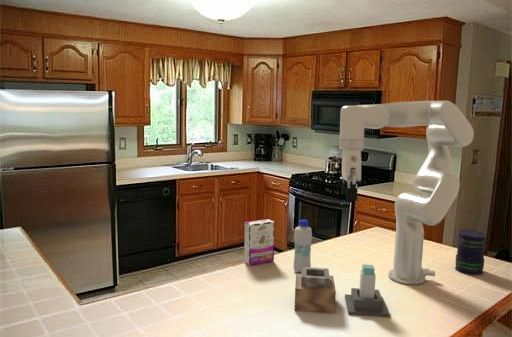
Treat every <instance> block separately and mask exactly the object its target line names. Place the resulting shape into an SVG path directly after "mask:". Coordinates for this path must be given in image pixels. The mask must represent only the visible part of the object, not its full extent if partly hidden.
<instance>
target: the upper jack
mask: <svg viewBox="0 0 512 337" xmlns="http://www.w3.org/2000/svg"><path fill="white" fill-rule="evenodd" d="M329 270H330V269H329V268H327V267H326V268H325V267H302V272H300V273H295V284H294V285H295V288H294V309H293V310H294V311H295V312H308V313H309V312H311V313H320V314H321V313H324V314H325V313H326V314H335V313H336V299H337V298H336V297H337V296H336V295H337V294H336V293H337V289H336V284H335V279H334V275H330V271H329Z"/></svg>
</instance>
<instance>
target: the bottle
mask: <svg viewBox="0 0 512 337" xmlns="http://www.w3.org/2000/svg"><path fill="white" fill-rule="evenodd" d="M298 224H299V225H298V226H297V227H295V229H294V234H293V238H294V239H293V241H294V257H293V259H294V260H293V271H294V272H295V274H300V273H301V272H302V267H310V268H312V267H311V265H312V264H311V262H312V261H311V253H312V252H311V250H312V242H313V240H312V239H313V233H312V232H313V231H312V228H311V227H309V221H308V220H307V219H300V220H299V222H298Z"/></svg>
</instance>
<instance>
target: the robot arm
mask: <svg viewBox="0 0 512 337" xmlns="http://www.w3.org/2000/svg"><path fill="white" fill-rule="evenodd" d="M339 118H340V120H339V143H338V144H339V146H338V148H339V150H341V151H342V155H341V177H342V183H341V184H342V185H341V186H342V187H341V194H342V195H346V197H345V198H346V201H347V202H348V201H349V202H357V201H358V182H361V181H362V151H364V142H365V141H364V140H365V129H372V130H373V129H374V130H379V129H382V128H384V127H389V128H411V127H421V126H427V128H426V131H425V132H426V133H425V135H426V136H425V137H426V140H427V141H426V142H427V145H428V147H427V148H428V152H427V155H426V158H425V160H424V161H423V163H422V165H421V167H420V168H419V169H418V171H417V173H416V174H415V176H414V179H412V180H413V181H412V187H413V189H414V190H415V191H416V192H418V193H416V192H410V191H405V192H402V193H400V194H399V195H398V196H397V197H396V199H395V201H394V212H395V213H394V214H395V219H396V220H395V221H396V222H395V223H396V224H395V226H396V227H395V228H396V229H395V237H394V238H395V242H394V256H393V269H392V270H390V271H389V272H388V277H389V279H391V280H392V281H394V282H397V283H399V284H404V285H421V284H423V283H425V282H426V276H429V277H436V271H435V270H430V268H423V267H422V265H423V264H422V262H423V253H424V252H423V251H424V250H423V249H424V238H425V231H424V230H425V229H424V226H423V224H424V225H427V226H437V225H438V224H440V223H441V222H442V220H444V218H445V216H446V214H447V213H448V211H449V209H450V208H451V206H452V204H453V203H454V201H455V200H456V197H457V196H458V193H459V191H460V188H461V187H460V185H461V182H460V179H459V178H460V177H458V175H457V174H456V173H454V172H452V171H448V170H450V168H451V164H452V156H451V152H450V149H449V147H457V148H464V147H467V146H468V145H471V143H472V142H473V140H474V136H475V134H474V133H475V132H474V128H473V126H472V125H471V123H470V122H469V120H468V119H467V118H466V116H465V115H464V113H463V112H462V111H461V110H460V108H459V107H457V105H456V104H455V103H453V102H452V101H450V100H417V101H398V102H390V103H389V102H388V103H377V104H374V103H373V104H357V105H344V106H342V107H341V108H340V117H339Z"/></svg>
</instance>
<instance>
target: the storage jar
mask: <svg viewBox="0 0 512 337" xmlns="http://www.w3.org/2000/svg"><path fill="white" fill-rule="evenodd" d="M456 239H457V242H456V246H457V250H456V251H457V252H456V254H455V266H454V270H455V271H457V272H458V273H460V274H463V275H467V276H481V275H483V273H484V271H483V270H484V267H485V250H486V249H487V247H486V245H487V234H486V233H485V232H483V231H481V230H480V231H479V230H473V229H459V230H458V233H457V238H456Z"/></svg>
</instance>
